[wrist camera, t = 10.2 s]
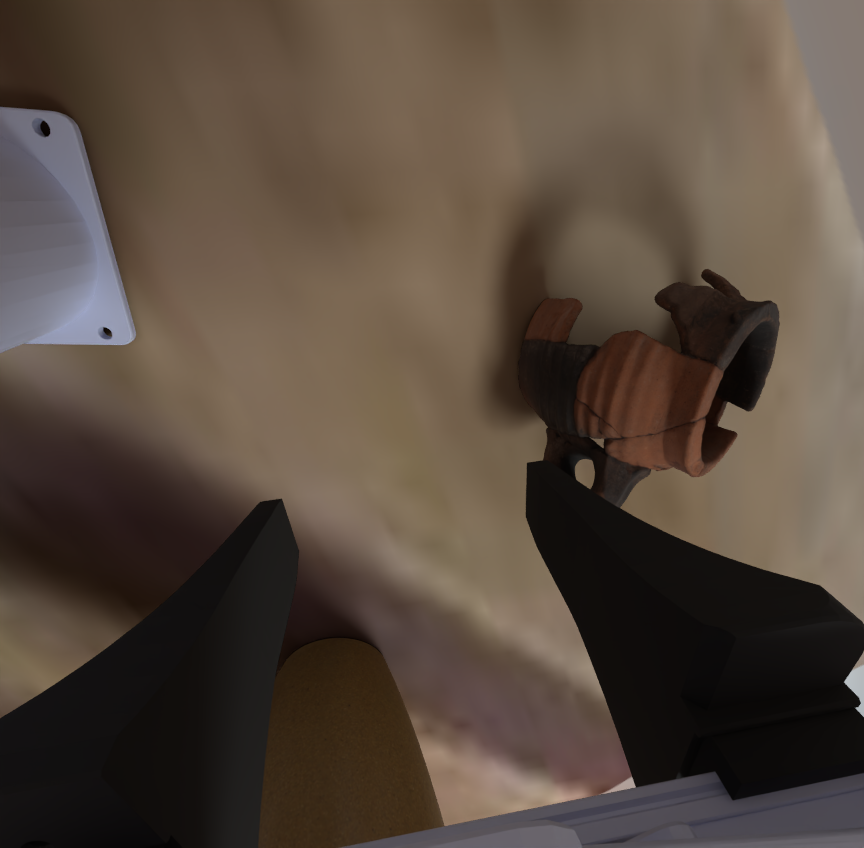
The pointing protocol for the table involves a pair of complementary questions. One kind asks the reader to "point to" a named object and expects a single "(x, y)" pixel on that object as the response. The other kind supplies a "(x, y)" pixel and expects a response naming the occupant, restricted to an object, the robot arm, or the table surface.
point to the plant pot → (341, 753)
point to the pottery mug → (648, 384)
